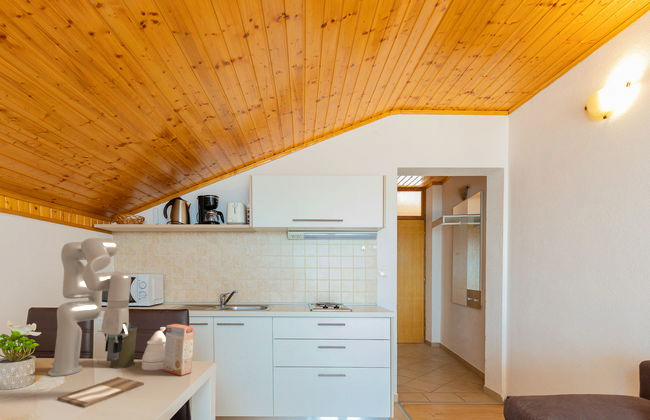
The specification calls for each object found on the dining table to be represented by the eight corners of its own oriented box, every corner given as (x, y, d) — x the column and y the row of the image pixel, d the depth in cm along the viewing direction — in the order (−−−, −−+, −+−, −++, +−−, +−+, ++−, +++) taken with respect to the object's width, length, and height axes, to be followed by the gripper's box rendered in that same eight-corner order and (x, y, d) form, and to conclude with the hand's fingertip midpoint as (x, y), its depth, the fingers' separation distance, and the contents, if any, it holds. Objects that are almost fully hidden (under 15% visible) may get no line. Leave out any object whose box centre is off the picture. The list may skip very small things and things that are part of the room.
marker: (103, 360, 134) (107, 329, 136) (113, 357, 138) (117, 327, 140) (110, 361, 133) (114, 330, 134) (121, 359, 136) (124, 328, 138)
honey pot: (162, 360, 176) (165, 324, 179) (175, 365, 168) (177, 327, 171) (136, 366, 166) (140, 328, 169) (148, 372, 158) (151, 332, 161)
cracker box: (192, 372, 158) (195, 326, 161) (180, 376, 153) (183, 328, 156) (174, 367, 165) (177, 322, 168) (162, 370, 160) (165, 324, 163)
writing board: (57, 399, 127) (57, 396, 127) (117, 378, 149) (118, 376, 149) (84, 407, 121) (85, 404, 121) (143, 384, 143) (143, 382, 143)
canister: (126, 368, 163) (130, 325, 165) (104, 368, 163) (109, 325, 165) (139, 361, 173) (142, 321, 176) (118, 361, 173) (122, 320, 176)
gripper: (95, 304, 138) (90, 351, 136) (123, 307, 131) (118, 357, 129) (112, 301, 145) (108, 346, 142) (140, 305, 138) (136, 352, 136)
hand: (113, 351), depth 136 cm, fingers closed on marker, 4 cm apart
